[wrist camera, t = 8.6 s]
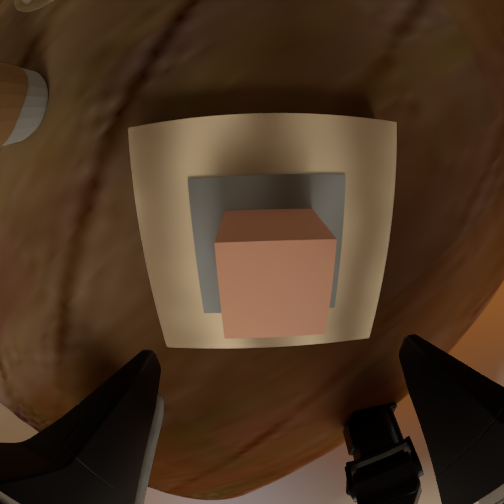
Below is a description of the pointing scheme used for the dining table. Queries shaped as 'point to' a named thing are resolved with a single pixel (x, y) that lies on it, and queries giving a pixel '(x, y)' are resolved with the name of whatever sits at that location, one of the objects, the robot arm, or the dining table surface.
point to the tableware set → (30, 4)
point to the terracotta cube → (274, 273)
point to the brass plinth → (261, 198)
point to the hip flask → (150, 451)
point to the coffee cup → (20, 102)
